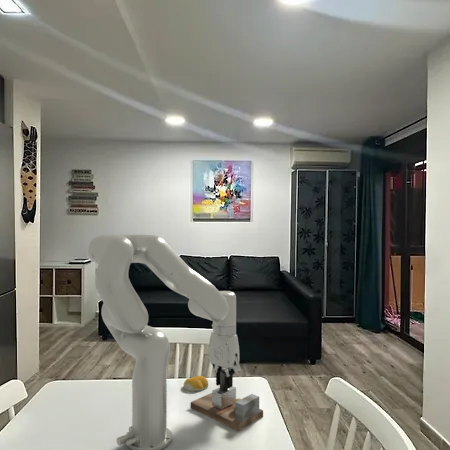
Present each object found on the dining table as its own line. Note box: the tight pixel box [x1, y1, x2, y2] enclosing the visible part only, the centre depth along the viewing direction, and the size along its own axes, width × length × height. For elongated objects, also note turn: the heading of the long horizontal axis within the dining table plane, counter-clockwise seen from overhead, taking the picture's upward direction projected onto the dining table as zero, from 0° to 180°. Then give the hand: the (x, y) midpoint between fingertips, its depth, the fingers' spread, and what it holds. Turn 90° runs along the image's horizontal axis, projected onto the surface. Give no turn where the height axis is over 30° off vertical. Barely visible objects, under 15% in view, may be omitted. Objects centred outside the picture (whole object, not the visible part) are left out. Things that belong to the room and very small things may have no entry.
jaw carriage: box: [211, 368, 237, 409], centre depth 130 cm, size 7×4×11 cm, turn 137°
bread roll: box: [183, 375, 209, 392], centre depth 149 cm, size 8×9×4 cm
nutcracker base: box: [190, 392, 264, 432], centre depth 129 cm, size 12×21×7 cm, turn 47°
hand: (224, 385), depth 130 cm, fingers closed on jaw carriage, 3 cm apart
